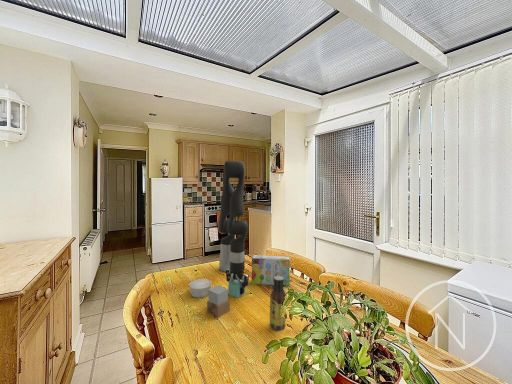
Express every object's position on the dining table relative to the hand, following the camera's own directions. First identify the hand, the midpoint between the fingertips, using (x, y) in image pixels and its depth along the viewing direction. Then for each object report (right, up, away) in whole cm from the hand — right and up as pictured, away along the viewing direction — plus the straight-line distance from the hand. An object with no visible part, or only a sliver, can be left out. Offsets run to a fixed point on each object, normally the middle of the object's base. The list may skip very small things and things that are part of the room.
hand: (236, 292), depth 117 cm
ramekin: (-19, -1, 0) cm, 19 cm away
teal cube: (0, -1, 0) cm, 1 cm away
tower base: (-7, -2, -16) cm, 18 cm away
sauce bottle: (+18, -3, -26) cm, 32 cm away
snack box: (+18, -1, +13) cm, 22 cm away
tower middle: (-7, +3, -16) cm, 18 cm away
